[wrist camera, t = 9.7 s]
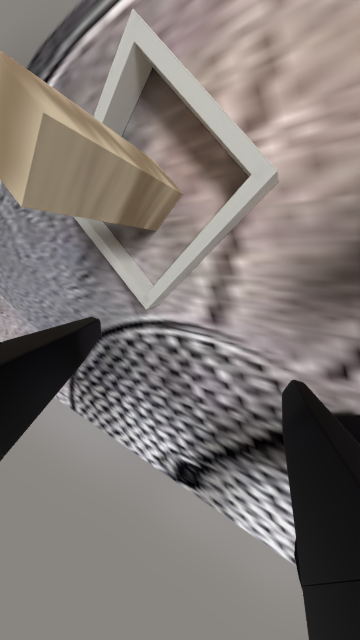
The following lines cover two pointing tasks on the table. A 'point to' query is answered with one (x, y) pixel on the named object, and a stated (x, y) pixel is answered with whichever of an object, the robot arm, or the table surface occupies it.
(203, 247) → the tray
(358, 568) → the robot arm
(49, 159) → the tan square block
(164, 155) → the table surface
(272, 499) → the table surface
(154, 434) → the table surface
